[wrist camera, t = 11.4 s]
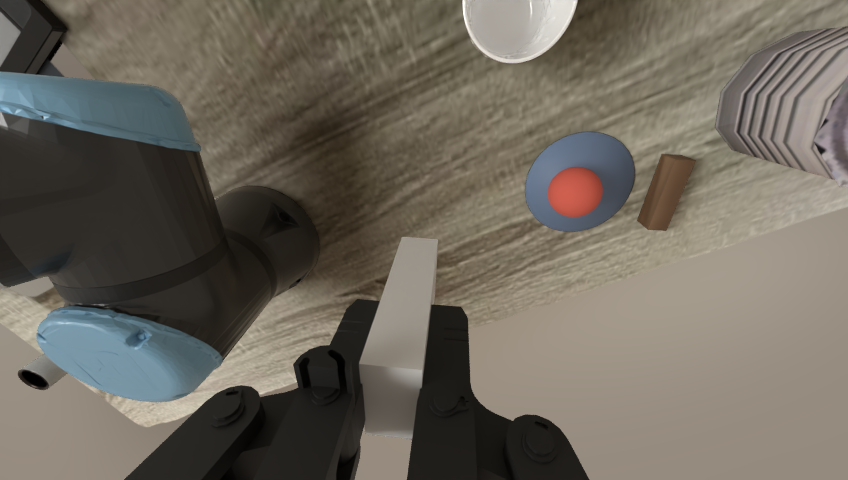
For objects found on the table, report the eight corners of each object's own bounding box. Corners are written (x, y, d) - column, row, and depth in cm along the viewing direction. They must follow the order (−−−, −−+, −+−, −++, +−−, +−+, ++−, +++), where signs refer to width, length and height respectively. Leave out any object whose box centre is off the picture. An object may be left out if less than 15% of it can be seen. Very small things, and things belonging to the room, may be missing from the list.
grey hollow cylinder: (81, 325, 58) (10, 372, 49) (98, 319, 57) (29, 367, 47) (100, 343, 59) (35, 392, 50) (117, 338, 58) (54, 387, 49)
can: (746, 176, 36) (868, 221, 25) (690, 102, 33) (800, 118, 22) (872, 92, 31) (1085, 103, 21) (819, -2, 28) (1034, -46, 18)
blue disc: (517, 227, 41) (517, 228, 41) (535, 129, 35) (535, 129, 35) (615, 234, 40) (615, 234, 40) (649, 134, 35) (650, 134, 34)
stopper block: (637, 220, 39) (647, 229, 37) (661, 154, 35) (675, 159, 33) (654, 221, 39) (666, 230, 37) (681, 155, 35) (695, 160, 33)
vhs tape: (72, 29, 36) (52, 27, 34) (20, 107, 40) (0, 109, 39) (5, -42, 33) (-21, -48, 31) (-43, 50, 38) (-67, 49, 36)
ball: (604, 219, 36) (562, 203, 40) (620, 170, 34) (573, 159, 38) (575, 229, 33) (533, 211, 37) (589, 178, 31) (542, 164, 35)
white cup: (546, 54, 32) (579, 48, 23) (467, 73, 34) (471, 74, 25) (543, -45, 29) (580, -97, 20) (455, -20, 30) (454, -58, 21)
